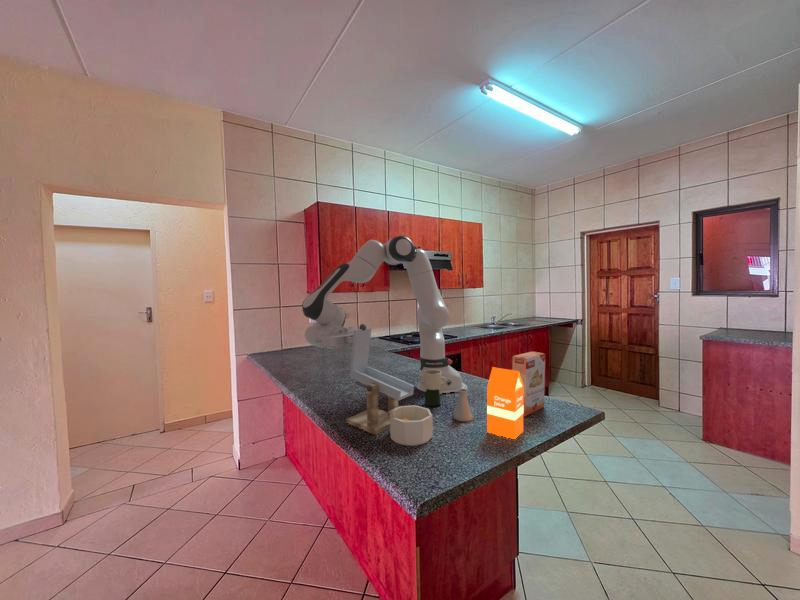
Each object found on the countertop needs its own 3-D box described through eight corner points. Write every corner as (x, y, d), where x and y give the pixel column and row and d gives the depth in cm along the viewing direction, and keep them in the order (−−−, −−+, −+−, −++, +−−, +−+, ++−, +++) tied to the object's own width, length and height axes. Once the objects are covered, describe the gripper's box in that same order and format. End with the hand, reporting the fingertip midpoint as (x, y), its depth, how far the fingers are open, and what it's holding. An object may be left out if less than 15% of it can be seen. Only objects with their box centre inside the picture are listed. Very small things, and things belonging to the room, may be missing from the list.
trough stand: (345, 423, 107) (345, 379, 106) (374, 411, 117) (373, 371, 116) (375, 435, 98) (375, 387, 97) (403, 421, 108) (402, 377, 108)
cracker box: (526, 417, 110) (526, 358, 109) (510, 412, 115) (511, 355, 114) (545, 408, 119) (546, 352, 118) (530, 403, 124) (530, 350, 123)
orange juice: (496, 424, 105) (496, 364, 104) (523, 431, 100) (524, 368, 99) (486, 432, 99) (486, 369, 98) (514, 440, 94) (515, 374, 93)
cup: (427, 425, 104) (427, 404, 104) (435, 444, 92) (435, 420, 91) (389, 427, 103) (388, 406, 103) (391, 446, 91) (391, 422, 90)
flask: (458, 423, 106) (458, 394, 106) (449, 415, 113) (449, 387, 113) (477, 421, 108) (477, 392, 107) (467, 413, 115) (467, 385, 114)
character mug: (448, 402, 125) (448, 370, 125) (444, 409, 118) (444, 375, 118) (421, 399, 129) (421, 368, 128) (416, 405, 122) (416, 372, 122)
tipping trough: (347, 382, 110) (353, 324, 107) (363, 377, 116) (368, 322, 113) (398, 406, 96) (405, 340, 93) (412, 400, 101) (419, 337, 98)
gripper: (311, 331, 112) (336, 334, 103) (355, 326, 127) (380, 328, 118) (312, 349, 112) (336, 353, 103) (355, 342, 127) (380, 345, 118)
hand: (360, 340), depth 111 cm, fingers closed, pressing on tipping trough
